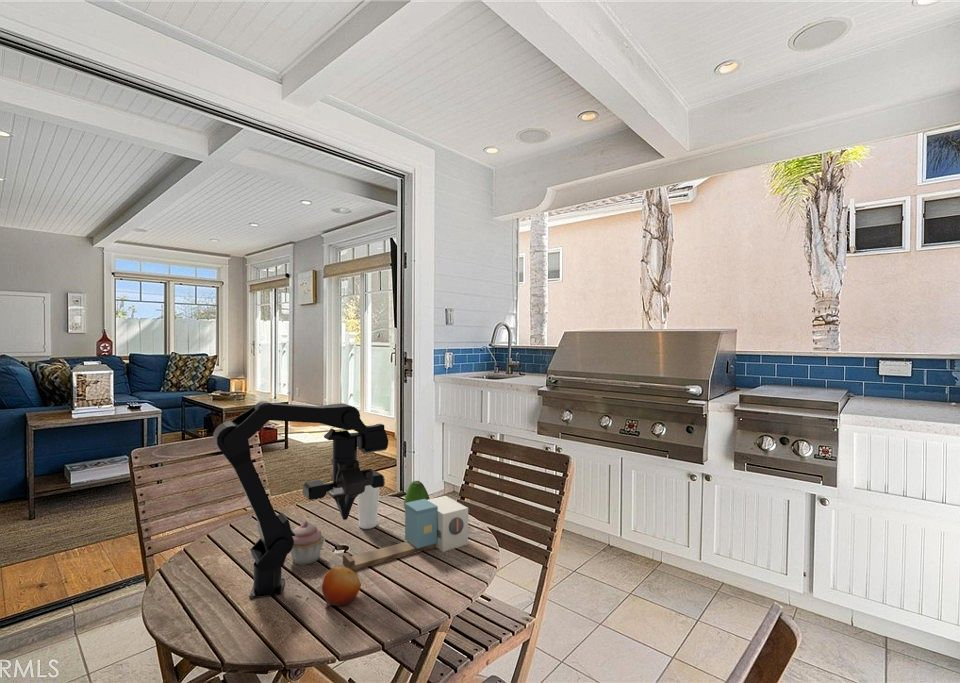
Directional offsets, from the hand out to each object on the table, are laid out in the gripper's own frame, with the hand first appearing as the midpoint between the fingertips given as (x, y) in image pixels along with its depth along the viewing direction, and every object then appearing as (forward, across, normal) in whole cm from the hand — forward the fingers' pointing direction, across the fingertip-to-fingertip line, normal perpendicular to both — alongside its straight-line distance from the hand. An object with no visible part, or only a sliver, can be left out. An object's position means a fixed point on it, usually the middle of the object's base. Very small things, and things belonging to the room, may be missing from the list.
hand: (344, 519), depth 117 cm
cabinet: (+12, +28, 0) cm, 31 cm away
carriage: (+11, +21, 0) cm, 24 cm away
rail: (+12, +12, 0) cm, 17 cm away
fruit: (+12, -6, -14) cm, 19 cm away
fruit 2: (+12, +29, +18) cm, 37 cm away
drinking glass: (+12, +15, +21) cm, 29 cm away
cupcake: (+12, -7, +10) cm, 17 cm away
